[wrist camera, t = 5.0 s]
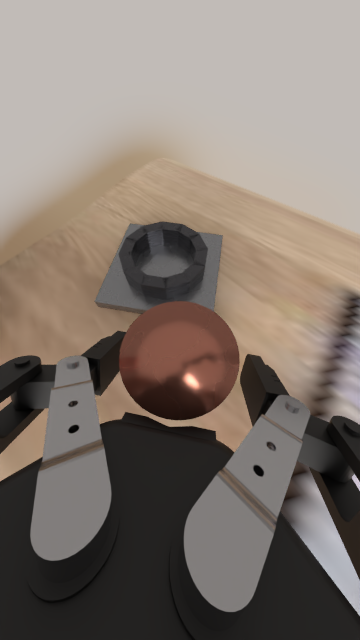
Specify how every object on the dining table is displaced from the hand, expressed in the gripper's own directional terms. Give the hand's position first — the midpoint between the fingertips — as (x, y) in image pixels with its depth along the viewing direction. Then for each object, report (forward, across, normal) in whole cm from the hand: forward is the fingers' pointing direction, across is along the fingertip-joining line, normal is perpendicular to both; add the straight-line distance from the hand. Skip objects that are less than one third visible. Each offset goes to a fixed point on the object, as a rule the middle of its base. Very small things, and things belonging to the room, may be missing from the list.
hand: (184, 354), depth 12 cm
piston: (+2, 0, +4) cm, 5 cm away
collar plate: (+11, +4, -4) cm, 12 cm away
